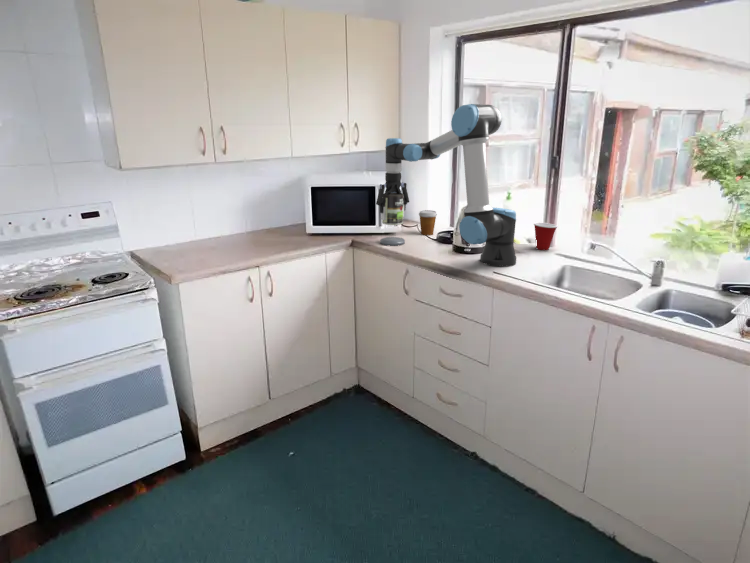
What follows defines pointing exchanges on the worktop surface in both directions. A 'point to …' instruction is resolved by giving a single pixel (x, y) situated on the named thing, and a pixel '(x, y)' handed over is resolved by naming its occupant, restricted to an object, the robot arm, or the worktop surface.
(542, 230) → the plastic cup
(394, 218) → the coffee can
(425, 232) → the disposable coffee cup
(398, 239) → the coaster
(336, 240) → the worktop surface
